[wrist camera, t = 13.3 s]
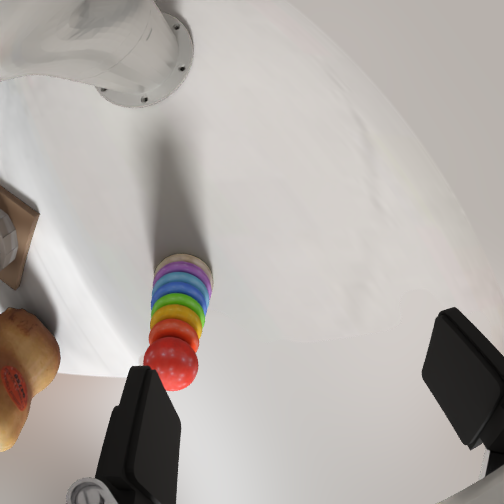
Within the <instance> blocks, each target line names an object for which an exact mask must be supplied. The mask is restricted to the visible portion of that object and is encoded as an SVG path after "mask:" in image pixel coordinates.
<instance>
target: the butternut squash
mask: <svg viewBox="0 0 504 504" xmlns="http://www.w3.org/2000/svg"><path fill="white" fill-rule="evenodd" d="M60 359H61V357H60V349H59V345H58V343H57V341H56V339H55V337H54V336H53V335H52V333H51V332H50V331H49V330H48V329H47V328H46V327H45V326H44V325H43V324H42V322H41V321H40V320H39V319H38V318H37V317H36V316H35V315H33V314H31V313H29V312H27V311H26V310H24V309H22V308H21V309H15V308H12V307H9V308H7V309H6V311H4V312H3V313H2V314H0V452H3V451H6V450H8V449H10V448H11V447H12V446H13V445H14V444H15V442H16V440H17V439H18V436H19V434H20V432H21V430H22V428H23V426H24V424H25V422H26V420H27V417H28V413H29V409H30V404H31V400H32V398H33V397H34V396H35V395H36V394H37V393H39V392H40V391H42V390H43V389H44V388H46V387H47V386H48V385H49V384H50V383H51V382H52V381H53V379H54V377H55V375H56V373H57V371H58V368H59V365H60Z"/></svg>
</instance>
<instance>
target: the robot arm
mask: <svg viewBox="0 0 504 504" xmlns="http://www.w3.org/2000/svg"><path fill="white" fill-rule="evenodd" d="M177 27H179V29H178V30H175V29H176V28H177ZM192 60H193V44H192V40H191V37H190V35H189V32H188V30H187V29H186V28H185V26H184V25H183V24H182V23H181V22H180V21H179V20H178V19H177V18H175V17H173V16H171V15H170V14H167V13H164V12H160V10H159V8H158V7H157V5H156V3H155V2H154V0H0V82H1V81H6V80H10V79H14V78H18V77H23V76H29V75H43V76H50V77H57V78H62V79H67V80H71V81H76V82H80V83H85V84H89V85H93V86H95V88H96V89H97V91H98V92H99V93H100V94H101V96H103V97H104V98H105V99H106V100H107V101H109V102H111V103H113V104H115V105H119V106H123V107H129V108H140V107H145V106H150V105H152V104H155V103H158V102H160V101H161V100H163V99H165V98H167V97H168V96H169V95H171V94H172V93H173V92H174V91H175V90H177V88H178V87H179V86H180V85H181V84H182V83H183V81H184V80H185V78H186V76H187V75H188V73H189V70H190V67H191V65H192ZM182 67H184V68H185V70H184V71H181V68H182ZM105 89H107V90H106V91H105ZM145 98H148V101H147V102H145V101H144V99H145ZM422 378H423V380H424V382H425V383H426V385H427V386H428V388H429V389H430V391H431V392H432V394H433V395H434V397H435V399H436V400H437V402H438V403H439V405H440V407H441V408H442V410H443V411H444V413H445V415H446V416H447V418H448V420H449V421H450V423H451V424H452V426H453V427H454V429H455V431H456V433H457V435H458V436H459V438H460V440H461V441H462V443H463V444H464V445H468V447H469V449H470V450H472V449H474V448H476V447H477V446H479V445H481V444H482V443H483V444H484V445H485V447H486V448H485V453H484V459H483V464H482V468H481V472H480V477H479V481H477V482H476V483H474V484H472V485H471V486H469V487H467V488H466V489H464V490H462V491H460V492H458V493H456V494H454V495H453V496H451V497H449V498H447V499H445V500H443V501H441V502H439V503H437V504H504V356H503V355H502V354H501V353H500V352H499V351H498V350H497V349H496V348H495V347H494V346H493V344H492V343H490V341H489V340H488V339H487V338H486V337H485V336H484V335H483V334H482V333H481V332H480V331H479V330H478V329H477V328H476V327H475V326H474V325H473V324H472V323H471V322H470V321H469V320H468V319H467V318H466V317H465V316H464V315H463V314H462V313H461V312H460V311H459V310H458V309H457V308H455V307H453V308H449V309H446V310H443V311H441V312H440V313H439V315H438V317H437V318H436V319H435V323H434V328H433V332H432V336H431V340H430V344H429V348H428V351H427V355H426V359H425V362H424V365H423V369H422ZM180 435H181V422H180V419H179V417H178V415H177V413H176V411H175V409H174V407H173V405H172V403H171V400H170V398H169V396H168V395H167V392H166V390H165V388H164V386H163V384H162V381H161V379H160V377H159V375H158V373H157V371H156V370H155V369H154V370H152V369H151V367H150V366H148V365H146V366H132V367H131V368H130V370H129V373H128V377H127V380H126V383H125V386H124V390H123V393H122V397H121V400H120V404H119V405H118V406H115V407H114V409H113V411H112V414H111V417H110V421H109V424H108V428H107V432H106V436H105V439H104V443H103V447H102V451H101V455H100V458H99V462H98V467H97V471H96V475H95V478H91V477H89V478H82V479H79V480H77V481H76V482H74V483H73V484H72V485H71V486H70V488H69V489H68V492H67V495H66V502H67V504H176V493H177V476H178V462H179V461H178V460H179V448H180Z"/></svg>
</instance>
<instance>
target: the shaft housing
mask: <svg viewBox="0 0 504 504" xmlns="http://www.w3.org/2000/svg"><path fill="white" fill-rule="evenodd" d="M39 215H40V214H39V213H38V212H36V211H35V210H33V209H32V208H31V207H29V206H28V205H26V204H25V203H24V202H22V201H21V200H19V199H18V198H17V197H15V196H14V195H13V194H11V193H10V192H9V191H7V190H6V189H5V188H3V187H2V186H1V185H0V280H2V281H3V282H4V283H6V284H7V285H8V286H10V287H11V288H12V289H14V290H16V289H17V288H18V287H19V286H20V282H21V278H22V273H23V269H24V265H25V261H26V258H27V254H28V250H29V247H30V243H31V240H32V237H33V233H34V230H35V227H36V224H37V221H38V218H39Z"/></svg>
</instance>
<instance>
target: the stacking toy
mask: <svg viewBox="0 0 504 504" xmlns="http://www.w3.org/2000/svg"><path fill="white" fill-rule="evenodd" d="M212 289H213V276H212V273H211V271H210V269H209V268H208V266H207V265H206V264H205V263H204V262H203V261H202V260H200V259H199V258H197V257H195V256H192V255H188V254H175V255H171V256H169V257H167V258H165V259H164V260H163V261H162V262H161V263H160V264H159V265H158V267H157V268H156V271H155V274H154V281H153V291H152V300H151V310H152V312H151V322H150V329H151V331H150V334H149V344H150V346H149V347H148V349H147V350H146V352H145V355H144V361H143V362H144V363H143V366H146V365H148V366H150V367H151V369H152V370H154V369H155V370H156V371H157V373H158V375H159V377H160V379H161V381H162V384H163V386H164V388H165V390H167V391H178V390H181V389H184V388H186V387H187V386H188V385H190V384H191V383H192V381H193V380H194V379H195V377H196V374H197V371H198V359H197V356H196V354H195V353H196V352H197V349H198V347H199V338H200V337H201V333H202V328H203V326H204V323H205V315H206V312H207V308H208V305H209V300H210V297H211V292H212Z"/></svg>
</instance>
